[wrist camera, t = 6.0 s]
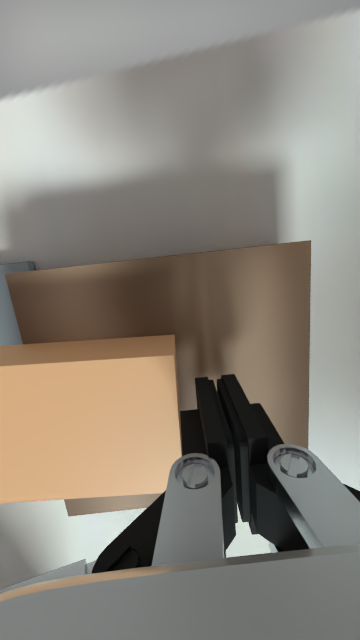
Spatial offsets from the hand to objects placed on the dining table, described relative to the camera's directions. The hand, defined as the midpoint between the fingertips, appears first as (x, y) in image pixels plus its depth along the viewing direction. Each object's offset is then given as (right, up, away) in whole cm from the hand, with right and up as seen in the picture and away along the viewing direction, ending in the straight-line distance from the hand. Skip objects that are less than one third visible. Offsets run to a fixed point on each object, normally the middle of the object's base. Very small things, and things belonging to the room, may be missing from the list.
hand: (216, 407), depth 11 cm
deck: (-2, +1, +5) cm, 5 cm away
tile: (-6, 0, +1) cm, 6 cm away
